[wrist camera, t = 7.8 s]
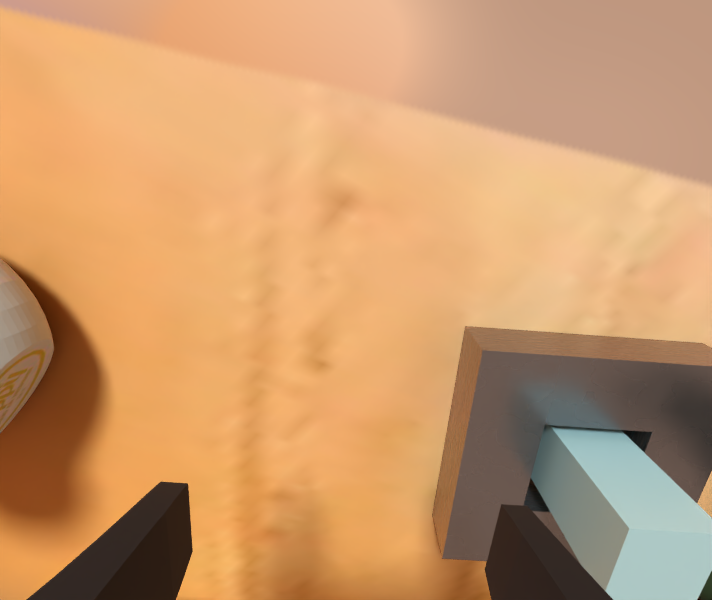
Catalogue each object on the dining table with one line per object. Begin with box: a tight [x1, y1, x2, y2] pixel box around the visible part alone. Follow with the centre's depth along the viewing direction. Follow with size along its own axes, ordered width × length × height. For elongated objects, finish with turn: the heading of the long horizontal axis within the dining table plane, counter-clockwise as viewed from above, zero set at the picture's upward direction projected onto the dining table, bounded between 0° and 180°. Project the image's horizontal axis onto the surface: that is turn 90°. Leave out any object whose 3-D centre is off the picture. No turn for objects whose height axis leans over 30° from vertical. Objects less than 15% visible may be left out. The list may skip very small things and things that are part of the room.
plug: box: [531, 425, 712, 600], centre depth 16 cm, size 3×3×7 cm
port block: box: [432, 326, 712, 563], centre depth 18 cm, size 11×11×2 cm
